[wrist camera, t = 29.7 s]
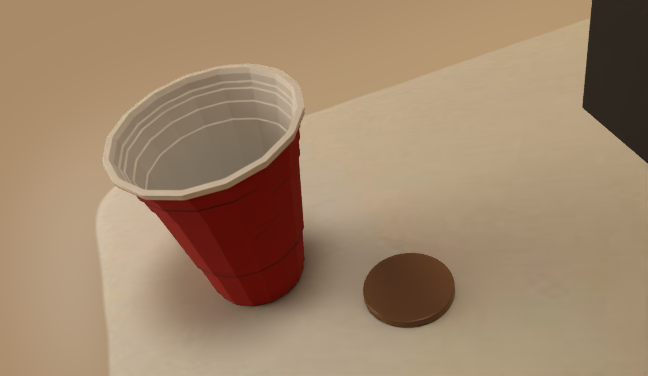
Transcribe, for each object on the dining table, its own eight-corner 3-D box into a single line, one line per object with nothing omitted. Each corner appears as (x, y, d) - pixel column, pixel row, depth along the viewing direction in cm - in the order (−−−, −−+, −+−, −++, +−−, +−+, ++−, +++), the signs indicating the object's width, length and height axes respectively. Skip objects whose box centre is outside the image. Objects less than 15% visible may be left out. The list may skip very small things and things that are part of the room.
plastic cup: (140, 319, 37) (50, 166, 30) (232, 206, 44) (178, 58, 37) (293, 367, 32) (231, 198, 25) (369, 231, 40) (338, 68, 32)
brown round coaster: (404, 246, 38) (403, 240, 38) (473, 284, 35) (473, 278, 34) (346, 297, 36) (345, 291, 35) (414, 343, 32) (413, 337, 32)
